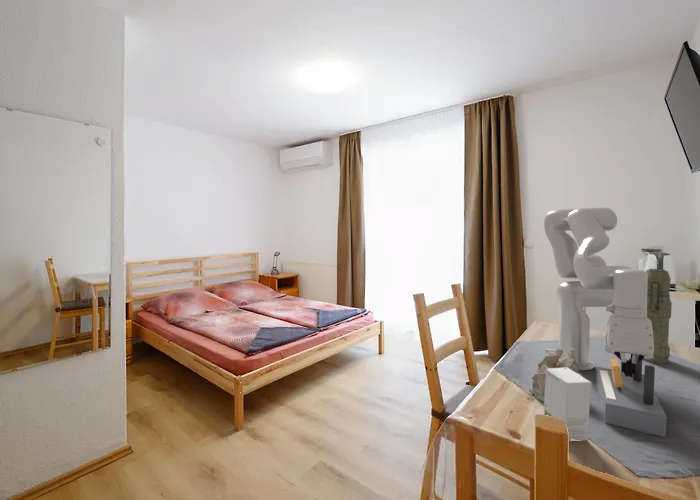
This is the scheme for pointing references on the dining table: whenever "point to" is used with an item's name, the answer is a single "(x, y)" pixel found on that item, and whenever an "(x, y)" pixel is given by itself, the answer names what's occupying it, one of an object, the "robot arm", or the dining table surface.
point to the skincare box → (568, 400)
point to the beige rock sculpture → (552, 362)
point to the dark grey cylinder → (638, 372)
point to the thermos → (659, 313)
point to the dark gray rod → (649, 384)
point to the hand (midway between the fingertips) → (628, 375)
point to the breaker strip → (629, 404)
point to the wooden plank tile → (616, 373)
